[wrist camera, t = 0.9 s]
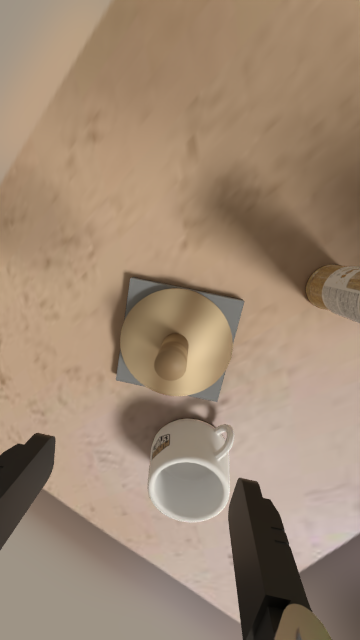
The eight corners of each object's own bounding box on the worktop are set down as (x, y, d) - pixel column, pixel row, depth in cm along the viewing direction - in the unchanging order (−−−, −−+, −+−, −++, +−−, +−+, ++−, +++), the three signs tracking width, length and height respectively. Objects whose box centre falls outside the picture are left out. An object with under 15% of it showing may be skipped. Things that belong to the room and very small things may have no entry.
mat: (242, 299, 25) (244, 301, 24) (216, 397, 28) (217, 402, 27) (132, 277, 25) (130, 277, 24) (118, 376, 28) (115, 380, 28)
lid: (244, 301, 24) (258, 313, 19) (217, 402, 27) (222, 438, 22) (130, 277, 25) (110, 282, 19) (116, 380, 28) (94, 410, 22)
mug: (192, 490, 32) (190, 541, 26) (137, 447, 31) (123, 490, 25) (257, 437, 29) (272, 480, 24) (200, 388, 28) (201, 421, 22)
